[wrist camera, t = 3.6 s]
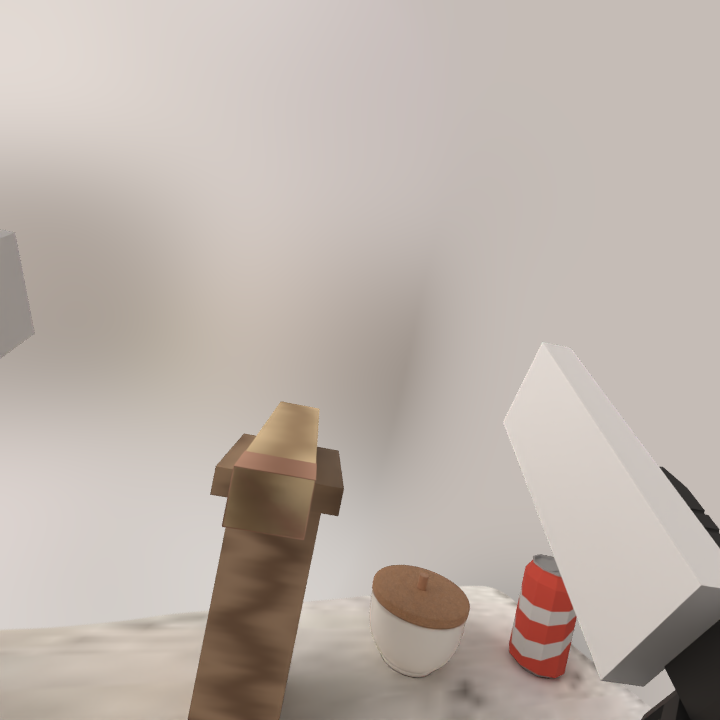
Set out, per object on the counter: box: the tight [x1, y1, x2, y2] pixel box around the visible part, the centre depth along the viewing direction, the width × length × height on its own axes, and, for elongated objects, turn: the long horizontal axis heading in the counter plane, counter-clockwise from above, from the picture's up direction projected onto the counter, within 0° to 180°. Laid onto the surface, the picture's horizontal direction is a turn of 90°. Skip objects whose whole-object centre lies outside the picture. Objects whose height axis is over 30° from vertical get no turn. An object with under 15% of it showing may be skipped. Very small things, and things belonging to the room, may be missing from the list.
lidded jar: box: [369, 565, 470, 677], centre depth 50 cm, size 11×11×9 cm
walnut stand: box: [188, 434, 344, 720], centre depth 37 cm, size 9×11×22 cm
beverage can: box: [509, 554, 577, 678], centre depth 53 cm, size 6×6×12 cm
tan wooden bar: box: [222, 402, 319, 540], centre depth 34 cm, size 4×24×3 cm, turn 5°
